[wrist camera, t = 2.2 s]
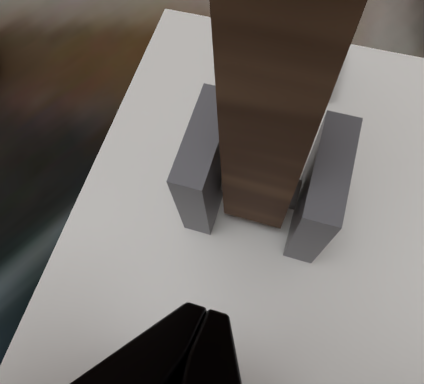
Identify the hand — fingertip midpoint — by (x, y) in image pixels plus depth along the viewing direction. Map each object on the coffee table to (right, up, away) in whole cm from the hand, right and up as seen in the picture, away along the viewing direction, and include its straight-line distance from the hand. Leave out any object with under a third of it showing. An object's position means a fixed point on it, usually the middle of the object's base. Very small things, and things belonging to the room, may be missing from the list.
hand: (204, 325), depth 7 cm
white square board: (+2, -1, +11) cm, 11 cm away
